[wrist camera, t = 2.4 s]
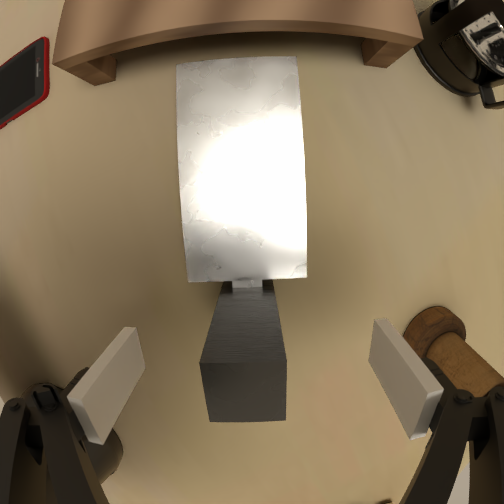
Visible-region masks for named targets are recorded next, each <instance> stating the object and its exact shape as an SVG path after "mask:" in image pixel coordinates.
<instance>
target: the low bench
mask: <svg viewBox="0 0 504 504" xmlns="http://www.w3.org/2000/svg"><path fill="white" fill-rule="evenodd" d="M254 31H299V32H318V33H331V34H341V35H350V36H358V37H365V38H366V39H365V40H364V41H363V43H362V44H361V48H362V54H363V60H364V65H368V66H375V67H382V68H387V67H388V66H390V65H391V64H392V63H393V62H395V61H396V60H397V59H399V58H400V57H401V56H402V55H404V54H405V53H406V52H408V51H409V50H410V49H412V48H413V47H414V46H415V45H417V44H418V43H419V42H421V41H422V40H423V35H422V31H421V27H420V24H419V20H418V17H417V13H416V10H415V7H414V4H413V1H412V0H65V2H64V6H63V10H62V14H61V18H60V23H59V28H58V32H57V37H56V43H55V49H54V55H53V61H52V64H53V65H55V66H57V67H59V68H61V69H63V70H65V71H67V72H69V73H71V74H73V75H75V76H77V77H79V78H81V79H83V80H85V81H86V82H88V83H90V84H92V85H94V86H97V85H100V84H104V83H107V82H111V81H115V78H116V62H117V60H116V59H115V58H114V57H112V56H111V55H110V54H113V53H116V52H120V51H124V50H128V49H132V48H136V47H140V46H144V45H149V44H154V43H159V42H164V41H170V40H175V39H182V38H188V37H195V36H203V35H212V34H222V33H235V32H254Z"/></svg>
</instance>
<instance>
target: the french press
mask: <svg viewBox="0 0 504 504" xmlns="http://www.w3.org/2000/svg"><path fill="white" fill-rule="evenodd" d="M417 17H418V20H419V24H420V27H421V31H422V35H423V40H422V41H421V42H419V43H418V44H417V45H415V46H414V48H415V50H416V53H417V55H418V57H419V59H420V60H421V62H422V64H423V65H424V67H425V68H426V69H427V70H428V72H429V73H430V74H431V75H432V76H433V77H434V78H435V79H436V81H437V82H439V83H440V84H441V85H442V86H444V87H445V88H446V89H448V90H450V91H451V92H453V93H455V94H458V95H461V96H466V97H469V96H475V95H477V94H480V95H481V99H482V103H483V106H484V107H485V108H486V109H502V108H504V101H500V102H496V101H495V97H494V94H493V90H492V88H493V87H496V86H500V85H503V84H504V2H503V1H502V0H439V1H437V2H435V3H434V4H433V5H432V6H430V7H429V8H428V9H427V10H425V11H423V12H421V13H419V14H418V15H417ZM432 21H437V22H435V23H434V24H433V25H432ZM456 33H458V34H459V36H460V38H461V39H462V41H463V42H464V44H465V45H466V46H467V47H468V49H469V50H470V51H471V53H472V54H473V55H474V56H475V57H476V58H477V59H478V64H479V72H478V76H477V78H476V79H475V80H474V81H473V80H471V79H470V78H468V77H467V76H466V75H465V74H463V73H462V72H461V71H460V70H459V69H458V68H457V67H456V66H455V65H454V63H453V62H452V61H451V60H450V59H449V57H448V56H447V55H446V53H445V52H444V50H443V48H442V47H441V45H440V43H442V42H443V41H445V40H447V39H448V38H450V37H451V36H453V35H454V34H456Z"/></svg>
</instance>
